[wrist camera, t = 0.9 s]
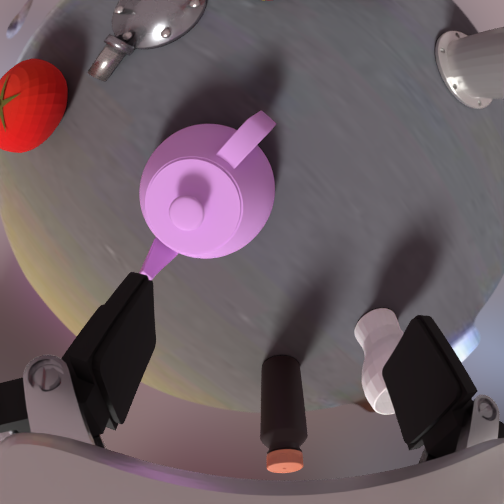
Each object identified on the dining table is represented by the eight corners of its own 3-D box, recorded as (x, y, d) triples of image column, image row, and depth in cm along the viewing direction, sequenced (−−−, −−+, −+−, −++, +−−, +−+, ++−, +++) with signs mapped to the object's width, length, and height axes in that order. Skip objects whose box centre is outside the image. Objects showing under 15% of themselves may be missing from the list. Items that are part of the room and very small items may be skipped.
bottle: (304, 372, 47) (315, 470, 28) (269, 381, 48) (269, 477, 30) (293, 349, 44) (303, 456, 26) (255, 360, 45) (251, 464, 27)
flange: (160, -33, 20) (150, -46, 16) (228, -3, 23) (224, -18, 19) (79, 61, 26) (62, 57, 22) (135, 99, 29) (120, 96, 25)
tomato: (17, 137, 30) (-32, 148, 19) (41, 59, 24) (-9, 54, 14) (63, 157, 32) (9, 173, 21) (93, 69, 26) (39, 58, 16)
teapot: (215, 80, 28) (190, 55, 17) (316, 158, 32) (344, 173, 21) (122, 216, 36) (75, 252, 25) (210, 281, 39) (192, 337, 28)
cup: (337, 319, 41) (361, 393, 28) (396, 289, 39) (439, 354, 25) (355, 357, 45) (376, 424, 31) (407, 331, 42) (440, 393, 29)
